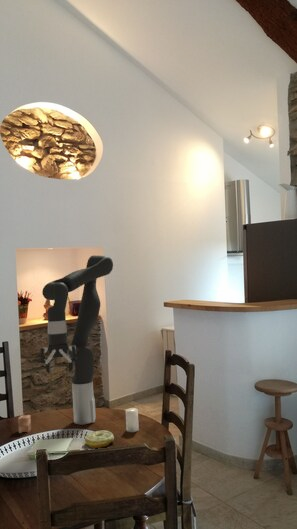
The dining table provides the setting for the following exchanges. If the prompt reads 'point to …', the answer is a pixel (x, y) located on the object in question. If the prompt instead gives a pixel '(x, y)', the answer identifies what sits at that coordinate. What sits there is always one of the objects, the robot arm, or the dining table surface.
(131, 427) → the white rounded cylinder
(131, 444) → the dining table surface
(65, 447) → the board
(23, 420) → the terracotta block
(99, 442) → the decorated donut
